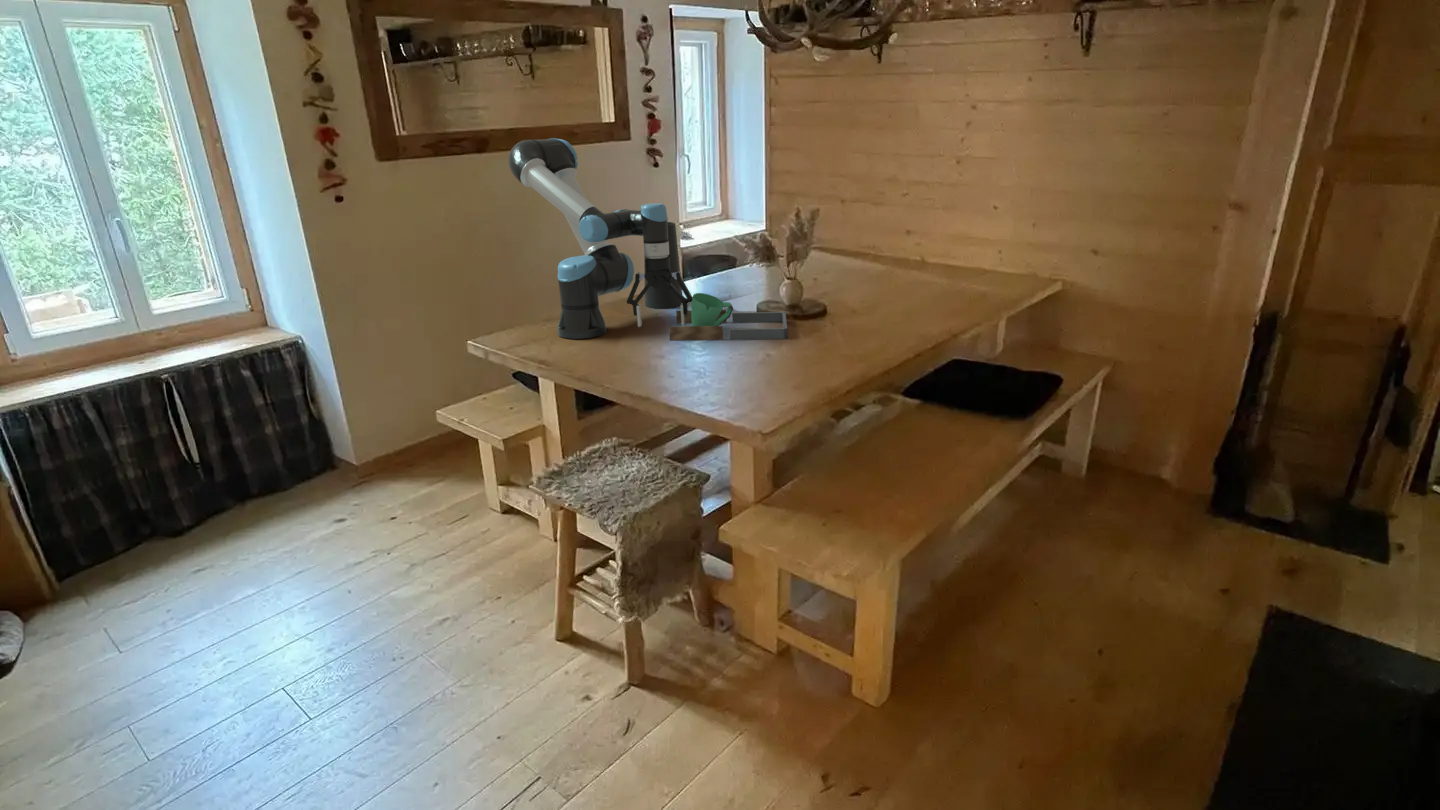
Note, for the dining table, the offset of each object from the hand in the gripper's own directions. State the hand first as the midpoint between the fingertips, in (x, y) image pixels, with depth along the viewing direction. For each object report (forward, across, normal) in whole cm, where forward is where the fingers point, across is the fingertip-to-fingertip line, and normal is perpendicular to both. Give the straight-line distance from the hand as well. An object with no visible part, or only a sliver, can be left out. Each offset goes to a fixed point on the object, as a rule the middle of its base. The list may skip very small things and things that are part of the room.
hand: (661, 325), depth 246 cm
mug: (+2, +14, 0) cm, 14 cm away
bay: (+2, +12, 0) cm, 12 cm away
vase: (+2, -4, +34) cm, 35 cm away
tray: (+2, +30, +1) cm, 30 cm away
